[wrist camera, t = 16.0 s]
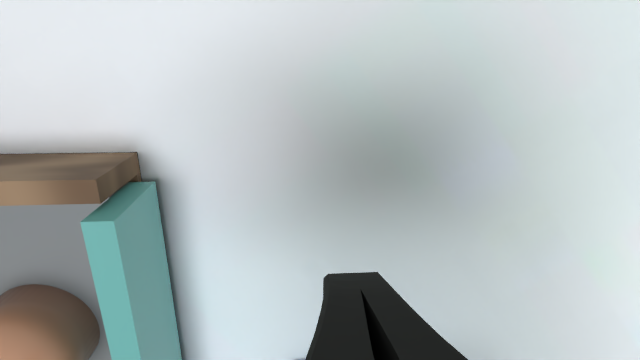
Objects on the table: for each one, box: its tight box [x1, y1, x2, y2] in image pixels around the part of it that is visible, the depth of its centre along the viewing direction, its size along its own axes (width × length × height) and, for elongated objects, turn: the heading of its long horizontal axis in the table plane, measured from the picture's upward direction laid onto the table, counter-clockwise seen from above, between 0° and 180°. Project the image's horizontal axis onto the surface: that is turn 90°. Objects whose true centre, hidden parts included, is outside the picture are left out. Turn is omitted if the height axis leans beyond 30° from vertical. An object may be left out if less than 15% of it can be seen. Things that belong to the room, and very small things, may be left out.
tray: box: [0, 182, 182, 360], centre depth 18 cm, size 15×16×4 cm
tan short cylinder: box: [0, 284, 100, 360], centre depth 17 cm, size 5×5×4 cm
